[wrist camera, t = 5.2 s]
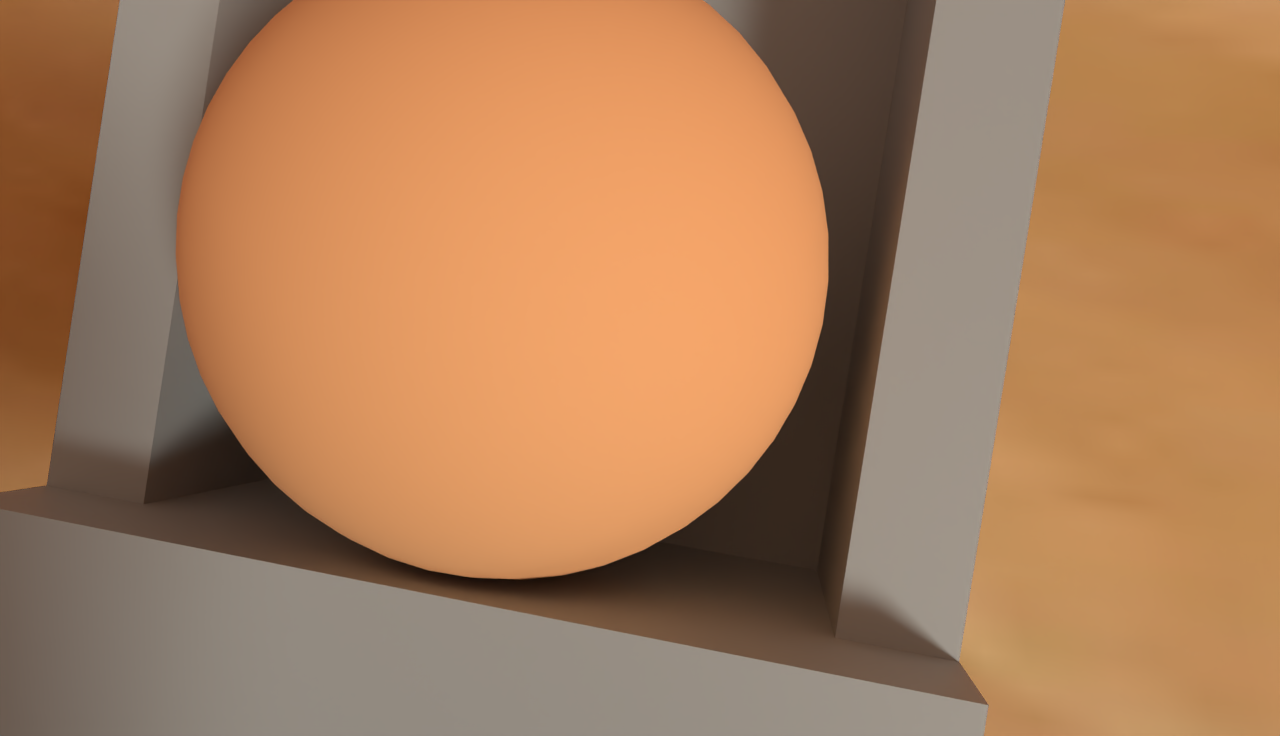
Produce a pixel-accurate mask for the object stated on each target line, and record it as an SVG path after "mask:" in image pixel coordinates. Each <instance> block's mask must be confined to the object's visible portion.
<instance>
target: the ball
mask: <svg viewBox="0 0 1280 736" xmlns="http://www.w3.org/2000/svg"><path fill="white" fill-rule="evenodd" d="M176 265H177V277H178V288H179V300H180V305H181V310H182V314H183V319H184V324H185V328H186V333H187V337H188V341H189V344H190V347H191V350H192V352H193V355H194V358H195V361H196V364H197V367H198V369H199V372H200V375H201V377H202V379H203V381H204V383H205V385H206V387H207V389H208V391H209V393H210V395H211V397H212V399H213V401H214V403H215V405H216V407H217V409H218V411H219V413H220V414H221V416H222V417H223V419H224V420H225V422H226V423H227V425H228V426H229V427H230V429H231V430H232V432H233V433H234V435H235V436H236V438H237V439H238V441H239V442H240V444H241V445H242V447H243V448H244V449H245V451H246V452H247V454H248V455H249V456H250V457H251V458H252V460H253V461H254V462H255V463H256V464H257V465H258V466H259V467H260V469H261V470H262V471H263V472H264V473H265V474H266V475H267V476H268V478H269V479H270V480H271V481H272V482H273V483H274V484H275V485H276V486H277V487H278V488H279V489H280V490H281V491H283V492H284V493H285V494H286V495H287V496H288V497H290V498H291V499H292V500H293V501H294V502H295V503H297V504H298V505H299V506H300V507H301V508H302V509H304V510H305V511H306V512H307V513H309V514H311V515H312V516H314V517H315V518H317V519H318V520H320V521H321V522H323V523H324V524H326V525H327V526H329V527H331V528H332V529H334V530H335V531H337V532H338V533H340V534H342V535H343V536H345V537H347V538H348V539H350V540H352V541H354V542H356V543H358V544H360V545H363V546H365V547H367V548H369V549H371V550H373V551H375V552H377V553H379V554H382V555H384V556H386V557H388V558H391V559H394V560H397V561H400V562H403V563H406V564H410V565H413V566H416V567H419V568H422V569H425V570H429V571H435V572H441V573H447V574H453V575H458V576H464V577H472V578H488V579H518V580H523V579H533V578H543V577H553V576H562V575H567V574H571V573H575V572H579V571H583V570H588V569H592V568H596V567H600V566H604V565H606V564H609V563H612V562H614V561H617V560H619V559H622V558H624V557H627V556H629V555H632V554H635V553H637V552H640V551H642V550H644V549H646V548H648V547H650V546H652V545H653V544H655V543H657V542H659V541H661V540H662V539H664V538H666V537H668V536H669V535H671V534H673V533H675V532H677V531H679V530H680V529H682V528H684V527H686V526H687V525H688V524H690V523H691V522H692V521H694V520H695V519H696V518H698V517H699V516H700V515H702V514H703V513H704V512H706V511H707V510H708V509H710V508H711V507H712V506H714V505H715V504H716V503H718V502H719V501H720V500H721V499H722V498H723V497H724V496H725V495H726V494H727V493H728V492H729V491H730V490H731V489H732V488H733V487H734V486H735V485H736V484H737V483H738V482H739V481H740V480H742V479H743V478H744V477H745V476H746V475H747V474H748V473H749V471H750V470H751V469H752V467H753V466H754V465H755V464H756V462H757V461H758V460H759V459H760V457H761V456H762V455H763V453H764V452H765V451H766V450H767V448H768V447H769V446H770V444H771V443H772V442H773V441H774V439H775V437H776V436H777V434H778V432H779V431H780V429H781V427H782V426H783V424H784V422H785V420H786V419H787V417H788V415H789V414H790V412H791V410H792V409H793V407H794V405H795V403H796V401H797V399H798V396H799V394H800V391H801V389H802V387H803V384H804V382H805V380H806V377H807V375H808V373H809V370H810V368H811V365H812V362H813V358H814V354H815V351H816V347H817V343H818V340H819V336H820V332H821V329H822V325H823V318H824V310H825V303H826V295H827V288H828V228H827V221H826V213H825V206H824V199H823V191H822V188H821V184H820V181H819V177H818V174H817V170H816V166H815V163H814V159H813V156H812V152H811V149H810V147H809V145H808V142H807V140H806V138H805V135H804V133H803V131H802V128H801V126H800V124H799V121H798V119H797V117H796V115H795V112H794V111H793V109H792V107H791V106H790V104H789V102H788V101H787V99H786V97H785V96H784V94H783V92H782V91H781V89H780V87H779V86H778V84H777V83H776V81H775V79H774V78H773V76H772V74H771V73H770V71H769V69H768V68H767V66H766V65H765V64H764V62H763V61H762V60H761V59H760V57H759V56H758V55H757V54H756V52H755V51H754V50H753V49H752V48H751V46H750V45H749V44H748V43H747V41H746V40H745V39H744V38H743V36H742V35H741V34H740V33H739V32H738V31H737V30H736V29H735V28H734V27H733V26H732V25H731V24H730V23H728V22H727V21H726V20H725V19H724V18H723V17H722V16H721V15H720V14H719V13H718V12H717V11H716V10H715V9H713V8H712V7H711V6H710V5H709V4H708V3H706V2H705V1H703V0H293V1H292V2H290V3H289V4H288V5H287V6H286V7H284V8H283V9H282V10H281V11H280V12H278V13H277V14H276V15H275V16H274V17H273V18H272V19H271V20H270V21H269V22H268V23H267V24H266V25H265V26H264V28H263V29H262V30H261V31H260V32H259V33H258V34H257V35H256V36H255V37H254V38H253V39H252V40H251V41H250V42H249V44H248V45H247V46H246V48H245V49H244V50H243V52H242V53H241V54H240V56H239V57H238V59H237V60H236V61H235V63H234V64H233V65H232V67H231V68H230V69H229V71H228V72H227V73H226V75H225V77H224V79H223V81H222V82H221V84H220V86H219V88H218V89H217V91H216V93H215V95H214V96H213V98H212V100H211V102H210V103H209V105H208V107H207V110H206V112H205V114H204V117H203V119H202V122H201V124H200V126H199V129H198V131H197V133H196V136H195V138H194V141H193V144H192V147H191V151H190V154H189V158H188V161H187V165H186V168H185V172H184V175H183V180H182V186H181V193H180V199H179V205H178V212H177V228H176Z"/></svg>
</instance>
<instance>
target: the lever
mask: <svg viewBox="0 0 1280 736" xmlns="http://www.w3.org/2000/svg"><path fill="white" fill-rule="evenodd" d="M292 1H293V0H120V2H119V8H118V15H117V22H116V28H115V35H114V42H113V48H112V55H111V62H110V68H109V75H108V82H107V88H106V95H105V102H104V108H103V115H102V122H101V128H100V135H99V142H98V148H97V155H96V162H95V168H94V175H93V182H92V188H91V195H90V202H89V208H88V215H87V222H86V228H85V235H84V242H83V248H82V255H81V262H80V268H79V275H78V282H77V288H76V295H75V302H74V308H73V315H72V322H71V328H70V335H69V342H68V348H67V355H66V362H65V368H64V375H63V382H62V388H61V395H60V402H59V408H58V415H57V422H56V428H55V435H54V442H53V448H52V455H51V462H50V468H49V475H48V482H47V486H41V487H34V488H27V489H21V490H14V491H7V492H0V736H984V730H985V724H986V718H987V712H988V704H987V702H986V701H985V699H984V698H983V696H982V695H981V693H980V692H979V691H978V689H977V688H976V686H975V685H974V683H973V682H972V680H971V679H970V677H969V676H968V674H967V673H966V671H965V670H964V669H963V667H962V666H961V664H960V663H959V658H960V652H961V645H962V639H963V633H964V627H965V621H966V614H967V608H968V602H969V596H970V589H971V583H972V577H973V571H974V564H975V558H976V552H977V546H978V539H979V533H980V527H981V521H982V515H983V508H984V502H985V496H986V490H987V483H988V477H989V471H990V465H991V458H992V452H993V446H994V440H995V433H996V427H997V421H998V415H999V409H1000V402H1001V396H1002V390H1003V384H1004V377H1005V371H1006V365H1007V359H1008V352H1009V346H1010V340H1011V334H1012V328H1013V321H1014V315H1015V309H1016V303H1017V296H1018V290H1019V284H1020V278H1021V271H1022V265H1023V259H1024V253H1025V246H1026V240H1027V234H1028V228H1029V222H1030V215H1031V209H1032V203H1033V197H1034V190H1035V184H1036V178H1037V172H1038V165H1039V159H1040V153H1041V147H1042V141H1043V134H1044V128H1045V122H1046V116H1047V109H1048V103H1049V97H1050V91H1051V84H1052V78H1053V72H1054V66H1055V59H1056V53H1057V47H1058V41H1059V35H1060V28H1061V22H1062V16H1063V10H1064V3H1065V0H703V1H705V2H706V3H708V4H709V5H710V6H711V7H712V8H713V9H715V10H716V11H717V12H718V13H719V14H720V15H721V16H722V17H723V18H724V19H725V20H726V21H727V22H728V23H730V24H731V25H732V26H733V27H734V28H735V29H736V30H737V31H738V32H739V33H740V34H741V35H742V36H743V38H744V39H745V40H746V41H747V43H748V44H749V45H750V46H751V48H752V49H753V50H754V51H755V52H756V54H757V55H758V56H759V57H760V59H761V60H762V61H763V62H764V64H765V65H766V66H767V68H768V69H769V71H770V73H771V74H772V76H773V78H774V79H775V81H776V83H777V84H778V86H779V87H780V89H781V91H782V92H783V94H784V96H785V97H786V99H787V101H788V102H789V104H790V106H791V107H792V109H793V111H794V112H795V115H796V117H797V119H798V121H799V124H800V126H801V128H802V131H803V133H804V135H805V138H806V140H807V142H808V145H809V147H810V149H811V152H812V156H813V159H814V163H815V166H816V170H817V174H818V177H819V181H820V184H821V188H822V191H823V199H824V206H825V213H826V221H827V228H828V288H827V295H826V303H825V310H824V318H823V325H822V329H821V332H820V336H819V340H818V343H817V347H816V351H815V354H814V358H813V362H812V365H811V368H810V370H809V373H808V375H807V377H806V380H805V382H804V384H803V387H802V389H801V391H800V394H799V396H798V399H797V401H796V403H795V405H794V407H793V409H792V410H791V412H790V414H789V415H788V417H787V419H786V420H785V422H784V424H783V426H782V427H781V429H780V431H779V432H778V434H777V436H776V437H775V439H774V441H773V442H772V443H771V444H770V446H769V447H768V448H767V450H766V451H765V452H764V453H763V455H762V456H761V457H760V459H759V460H758V461H757V462H756V464H755V465H754V466H753V467H752V469H751V470H750V471H749V473H748V474H747V475H746V476H745V477H744V478H743V479H742V480H740V481H739V482H738V483H737V484H736V485H735V486H734V487H733V488H732V489H731V490H730V491H729V492H728V493H727V494H726V495H725V496H724V497H723V498H722V499H721V500H720V501H719V502H718V503H716V504H715V505H714V506H712V507H711V508H710V509H708V510H707V511H706V512H704V513H703V514H702V515H700V516H699V517H698V518H696V519H695V520H694V521H692V522H691V523H690V524H688V525H687V526H686V527H684V528H682V529H680V530H679V531H677V532H675V533H673V534H671V535H669V536H668V537H666V538H664V539H662V540H661V541H659V542H657V543H655V544H653V545H652V546H650V547H648V548H646V549H644V550H642V551H640V552H637V553H635V554H632V555H629V556H627V557H624V558H622V559H619V560H617V561H614V562H612V563H609V564H606V565H604V566H600V567H596V568H592V569H588V570H583V571H579V572H575V573H571V574H567V575H562V576H553V577H543V578H533V579H523V580H518V579H488V578H472V577H464V576H458V575H453V574H447V573H441V572H435V571H429V570H425V569H422V568H419V567H416V566H413V565H410V564H406V563H403V562H400V561H397V560H394V559H391V558H388V557H386V556H384V555H382V554H379V553H377V552H375V551H373V550H371V549H369V548H367V547H365V546H363V545H360V544H358V543H356V542H354V541H352V540H350V539H348V538H347V537H345V536H343V535H342V534H340V533H338V532H337V531H335V530H334V529H332V528H331V527H329V526H327V525H326V524H324V523H323V522H321V521H320V520H318V519H317V518H315V517H314V516H312V515H311V514H309V513H307V512H306V511H305V510H304V509H302V508H301V507H300V506H299V505H298V504H297V503H295V502H294V501H293V500H292V499H291V498H290V497H288V496H287V495H286V494H285V493H284V492H283V491H281V490H280V489H279V488H278V487H277V486H276V485H275V484H274V483H273V482H272V481H271V480H270V479H269V478H268V476H267V475H266V474H265V473H264V472H263V471H262V470H261V469H260V467H259V466H258V465H257V464H256V463H255V462H254V461H253V460H252V458H251V457H250V456H249V455H248V454H247V452H246V451H245V449H244V448H243V447H242V445H241V444H240V442H239V441H238V439H237V438H236V436H235V435H234V433H233V432H232V430H231V429H230V427H229V426H228V425H227V423H226V422H225V420H224V419H223V417H222V416H221V414H220V413H219V411H218V409H217V407H216V405H215V403H214V401H213V399H212V397H211V395H210V393H209V391H208V389H207V387H206V385H205V383H204V381H203V379H202V377H201V375H200V372H199V369H198V367H197V364H196V361H195V358H194V355H193V352H192V350H191V347H190V344H189V341H188V337H187V333H186V328H185V324H184V319H183V314H182V310H181V305H180V300H179V288H178V277H177V265H176V228H177V212H178V205H179V199H180V193H181V186H182V180H183V175H184V172H185V168H186V165H187V161H188V158H189V154H190V151H191V147H192V144H193V141H194V138H195V136H196V133H197V131H198V129H199V126H200V124H201V122H202V119H203V117H204V114H205V112H206V110H207V107H208V105H209V103H210V102H211V100H212V98H213V96H214V95H215V93H216V91H217V89H218V88H219V86H220V84H221V82H222V81H223V79H224V77H225V75H226V73H227V72H228V71H229V69H230V68H231V67H232V65H233V64H234V63H235V61H236V60H237V59H238V57H239V56H240V54H241V53H242V52H243V50H244V49H245V48H246V46H247V45H248V44H249V42H250V41H251V40H252V39H253V38H254V37H255V36H256V35H257V34H258V33H259V32H260V31H261V30H262V29H263V28H264V26H265V25H266V24H267V23H268V22H269V21H270V20H271V19H272V18H273V17H274V16H275V15H276V14H277V13H278V12H280V11H281V10H282V9H283V8H284V7H286V6H287V5H288V4H289V3H290V2H292Z"/></svg>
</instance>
